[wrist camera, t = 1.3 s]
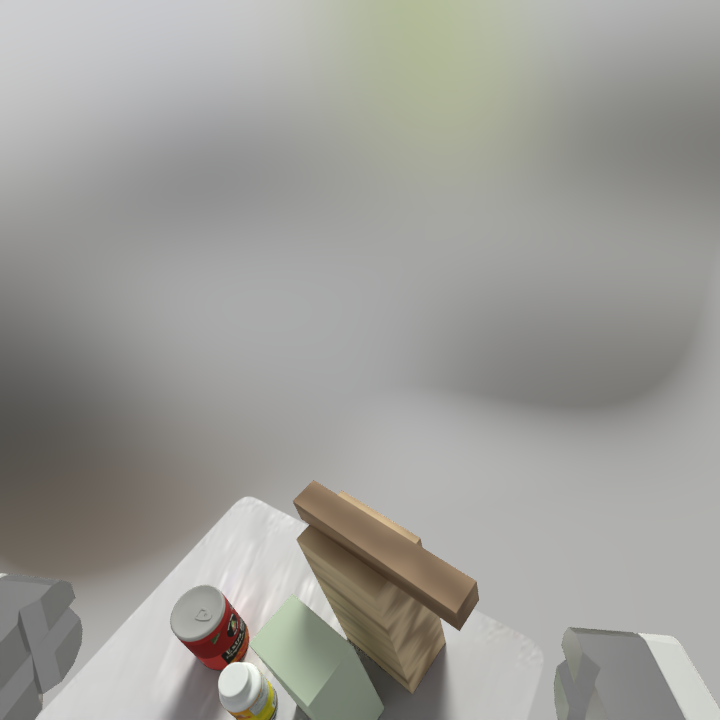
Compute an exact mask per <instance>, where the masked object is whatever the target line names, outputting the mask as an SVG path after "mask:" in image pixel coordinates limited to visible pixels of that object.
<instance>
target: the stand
mask: <svg viewBox="0 0 720 720" xmlns="http://www.w3.org/2000/svg"><path fill="white" fill-rule="evenodd" d="M338 496H340V497H341V498H343V499H345V500H346V501H348V502H350V503H351V504H353V505H354V506H356V507H358V508H359V509H361V510H362V511H364V512H366V513H367V514H369V515H370V516H372V517H374V518H375V519H377V520H378V521H380V522H382V523H383V524H385V525H387V526H388V527H390V528H391V529H393V530H395V531H396V532H398V533H399V534H401V535H403V536H404V537H406V538H407V539H409V540H411V541H412V542H414V543H416V544H417V545H419V546H420V547H422V543H421V539H420V538H419V537H417V536H416V535H414V534H413V533H411V532H409V531H408V530H406V529H404V528H403V527H401V526H399V525H398V524H396V523H394V522H392V521H391V520H390V519H388V518H386V517H385V516H383V515H381V514H380V513H378V512H376V511H375V510H373V509H371V508H370V507H368V506H367V505H365V504H363V503H361V502H360V501H358V500H357V499H355V498H353V497H352V496H350V495H348V494H347V493H345V492H344V491H341V492H340V493H339V494H338ZM296 540H297V542H298V543H299V545H300V547H301V549H302V551H303V553H304V555H305V557H306V559H307V561H308V563H309V565H310V567H311V569H312V571H313V572H314V574H315V576H316V578H317V580H318V582H319V584H320V586H321V588H322V590H323V592H324V594H325V596H326V598H327V600H328V601H329V603H330V605H331V607H332V609H333V611H334V613H335V615H336V617H337V619H338V621H339V623H340V625H341V627H342V629H343V630H344V632H345V634H346V636H347V638H348V639H349V640H351V641H352V642H353V643H354V644H355V645H356V646H357V647H359V648H360V649H361V650H362V651H363V652H364V653H366V654H367V655H368V656H369V657H370V658H371V659H373V660H374V661H375V662H376V663H377V664H378V665H379V666H381V667H382V668H383V669H384V670H385V671H386V672H388V673H389V674H390V675H391V676H392V677H393V678H395V679H396V680H397V681H398V682H399V683H400V684H401V685H403V686H404V687H405V688H406V689H407V690H408V691H410V692H411V693H412V694H413V693H414V691H415V690H416V688H417V686H418V685H419V683H420V682H421V680H422V678H423V677H424V675H425V674H426V672H427V671H428V669H429V667H430V666H431V664H432V663H433V661H434V659H435V658H436V656H437V655H438V653H439V651H440V650H441V648H442V647H443V645H444V644H445V642H446V641H445V637H444V633H443V629H442V625H441V620H440V617H439V616H437V615H436V614H435V613H433V612H432V611H430V610H429V609H428V608H426V607H425V606H423V605H422V604H421V603H419V602H418V601H416V600H415V599H414V598H412V597H411V596H409V595H408V594H407V593H405V592H404V591H402V590H401V589H399V588H398V587H397V586H395V585H394V584H392V583H391V582H390V581H388V580H387V579H385V578H384V577H383V576H381V575H380V574H378V573H377V572H376V571H374V570H373V569H371V568H370V567H369V566H367V565H366V564H364V563H363V562H361V561H360V560H359V559H357V558H356V557H354V556H353V555H352V554H350V553H349V552H347V551H346V550H345V549H343V548H342V547H340V546H339V545H338V544H336V543H335V542H333V541H332V540H331V539H329V538H328V537H326V536H325V535H323V534H322V533H321V532H319V531H318V530H316V529H315V528H314V527H312V526H311V525H309V526H308V527H307V528H306V529H305V530H304V531H303V532H302V534H301V535H300V536H299V537H298V538H297V539H296ZM422 548H423V547H422Z"/></svg>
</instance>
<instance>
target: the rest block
mask: <svg viewBox="0 0 720 720" xmlns="http://www.w3.org/2000/svg"><path fill="white" fill-rule="evenodd" d="M249 645H250V647H251V648H252V649H253V650H254V651H255V653H256V654H257V655H258V656H259V658H260V659H261V660H262V661H263V663H264V664H265V665H266V666H267V668H268V669H269V670H270V671H271V673H272V674H273V675H274V676H275V678H276V679H277V680H278V681H279V683H280V684H281V685H282V686H283V687H284V689H285V690H286V691H287V692H288V694H289V695H290V696H291V697H292V699H293V700H294V701H295V702H296V704H297V705H298V706H299V707H300V708H301V709H302V710H303V711H304V712H305V713H306V714H307V716H308V717H309V718H310V719H311V720H377V719H378V718H379V716H380V715H381V713H382V712H383V710H384V709H385V708H384V706H383V704H382V702H381V700H380V698H379V696H378V694H377V692H376V690H375V688H374V686H373V684H372V682H371V680H370V678H369V677H368V675H367V673H366V671H365V669H364V667H363V665H362V663H361V661H360V659H359V657H358V655H357V653H356V651H355V649H354V647H353V646H352V645H351V644H350V643H349V642H348V641H346V640H345V639H344V638H343V637H342V636H341V635H340V634H338V633H337V632H336V631H335V630H334V629H333V628H332V627H330V626H329V625H328V624H327V623H326V622H325V621H323V620H322V619H321V618H320V617H319V616H318V615H317V614H315V613H314V612H313V611H312V610H311V609H310V608H309V607H307V606H306V605H305V604H304V603H303V602H302V601H300V600H299V599H298V598H297V597H296V596H295V595H294V594H292V595H291V596H290V597H289V598H288V599H287V600H286V602H285V603H284V604H283V605H282V606H281V607H280V609H279V610H278V611H277V612H276V613H275V614H274V615H273V617H272V618H271V619H270V620H269V621H268V622H267V623H266V625H265V626H264V627H263V628H262V629H261V630H260V631H259V633H258V634H257V635H256V636H255V637H254V638H253V639H252V641H251V642H250V643H249Z"/></svg>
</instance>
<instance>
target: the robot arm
mask: <svg viewBox="0 0 720 720" xmlns="http://www.w3.org/2000/svg"><path fill="white" fill-rule="evenodd" d="M74 599H75V595H74V592H73V588H72V585H71V583H70V582H66V581H62V580H55V579H47V578H38V577H30V576H22V575H13V574H2V573H0V720H35V718H36V717H37V716H38V714H39V713H40V711H41V710H42V702H43V694H44V693H45V692H47V691H48V690H50V689H51V688H53V687H54V686H55V685H57V684H59V683H60V682H61V681H62V680H63V679H64V677H65V676H66V674H67V673H68V672H69V670H70V669H71V667H72V666H73V664H74V662H75V659H76V657H77V654H78V651H79V649H80V646H81V642H82V625H81V620H80V618H79V617H78V616H77V615H76V614H75V613H74V612H73V611H72V610H71V609H70V605H71V604H72V602H73V601H74ZM562 648H563V652H564V655H565V658H566V660H565V661H564V662H562V663H561V664H560V665H558V666H557V669H556V675H555V681H554V693H555V707H556V713H557V718H558V720H720V708H719V707H718V705H717V703H716V702H715V700H714V698H713V697H712V695H711V693H710V692H709V690H708V688H707V687H706V685H705V683H704V682H703V680H702V678H701V677H700V675H699V674H698V672H697V670H696V669H695V667H694V665H693V664H692V662H691V660H690V659H689V657H688V655H687V654H686V652H685V650H684V649H683V647H682V645H681V644H680V642H678V641H677V640H676V639H675V638H674V637H672V636H665V635H653V634H642V633H636V634H635V633H633V632H621V631H607V630H597V629H584V628H572V627H568V629H567V630H566V631H565V633H564V637H563V641H562Z"/></svg>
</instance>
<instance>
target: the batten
mask: <svg viewBox="0 0 720 720" xmlns="http://www.w3.org/2000/svg"><path fill="white" fill-rule="evenodd" d="M293 502H294V505H295V507H296V509H297V511H298V513H299V515H300V517H301V519H302V520H304V521H305V522H307V523H308V524H309V525H311V526H312V527H314V528H315V529H316V530H318V531H319V532H321V533H322V534H323V535H325V536H326V537H328V538H329V539H331V540H332V541H333V542H335V543H336V544H338V545H339V546H340V547H342V548H343V549H345V550H346V551H347V552H349V553H350V554H352V555H353V556H354V557H356V558H357V559H359V560H360V561H361V562H363V563H364V564H366V565H367V566H369V567H370V568H371V569H373V570H374V571H376V572H377V573H378V574H380V575H381V576H383V577H384V578H385V579H387V580H388V581H390V582H391V583H392V584H394V585H395V586H397V587H398V588H399V589H401V590H402V591H404V592H405V593H407V594H408V595H409V596H411V597H412V598H414V599H415V600H416V601H418V602H419V603H421V604H422V605H423V606H425V607H426V608H428V609H429V610H430V611H432V612H433V613H435V614H436V615H437V616H439V617H440V618H442V619H443V620H444V621H446V622H447V623H449V624H450V625H452V626H453V627H454V628H456V629H457V630H459V631H460V630H461V628H462V626H463V625H464V623H465V622H466V620H467V618H468V617H469V615H470V614H471V612H472V610H473V609H474V607H475V605H476V604H477V602H478V601H479V596H478V589H477V582H476V581H475V580H473V579H472V578H470V577H469V576H467V575H465V574H464V573H462V572H461V571H459V570H457V569H456V568H454V567H452V566H451V565H449V564H448V563H446V562H444V561H443V560H441V559H439V558H438V557H436V556H435V555H433V554H431V553H430V552H428V551H427V550H425V549H424V548H422V547H420V546H419V545H417V544H416V543H414V542H412V541H411V540H409V539H407V538H406V537H404V536H403V535H401V534H399V533H398V532H396V531H395V530H393V529H391V528H390V527H388V526H387V525H385V524H383V523H382V522H380V521H378V520H377V519H375V518H374V517H372V516H370V515H369V514H367V513H366V512H364V511H362V510H361V509H359V508H358V507H356V506H354V505H353V504H351V503H350V502H348V501H346V500H345V499H343V498H341V497H340V496H338V495H337V494H335V493H333V492H332V491H330V490H328V489H327V488H325V487H324V486H322V485H321V484H319V483H317V482H316V481H314V480H313V481H312V482H311V483H310V484H309V485H308V486H307V487H306V488H305V489H304V490H303V491H302V492H301V493H300V494H299V495H298V496H297V498H295V499H294V500H293Z"/></svg>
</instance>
